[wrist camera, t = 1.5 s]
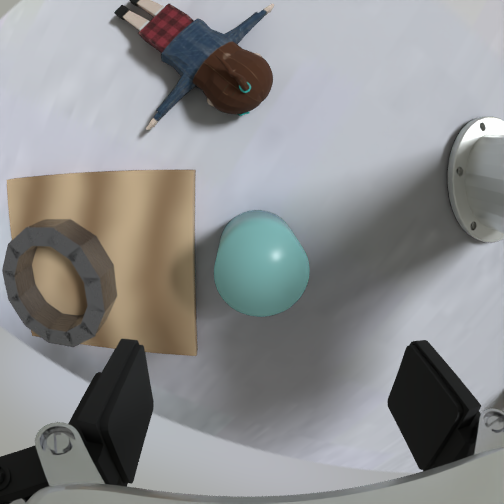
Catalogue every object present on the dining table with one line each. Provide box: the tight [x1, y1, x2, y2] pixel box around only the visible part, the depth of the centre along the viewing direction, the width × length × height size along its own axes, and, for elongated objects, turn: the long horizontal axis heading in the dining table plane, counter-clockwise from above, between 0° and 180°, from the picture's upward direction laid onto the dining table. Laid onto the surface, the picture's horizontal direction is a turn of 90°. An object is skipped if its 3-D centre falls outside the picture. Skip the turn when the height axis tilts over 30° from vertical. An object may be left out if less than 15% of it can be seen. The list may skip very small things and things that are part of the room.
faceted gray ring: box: [2, 219, 117, 347], centre depth 23 cm, size 10×10×3 cm
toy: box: [114, 0, 274, 130], centre depth 19 cm, size 14×5×15 cm
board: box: [7, 170, 198, 356], centre depth 25 cm, size 18×16×1 cm
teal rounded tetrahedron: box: [214, 210, 309, 317], centre depth 23 cm, size 6×6×6 cm
